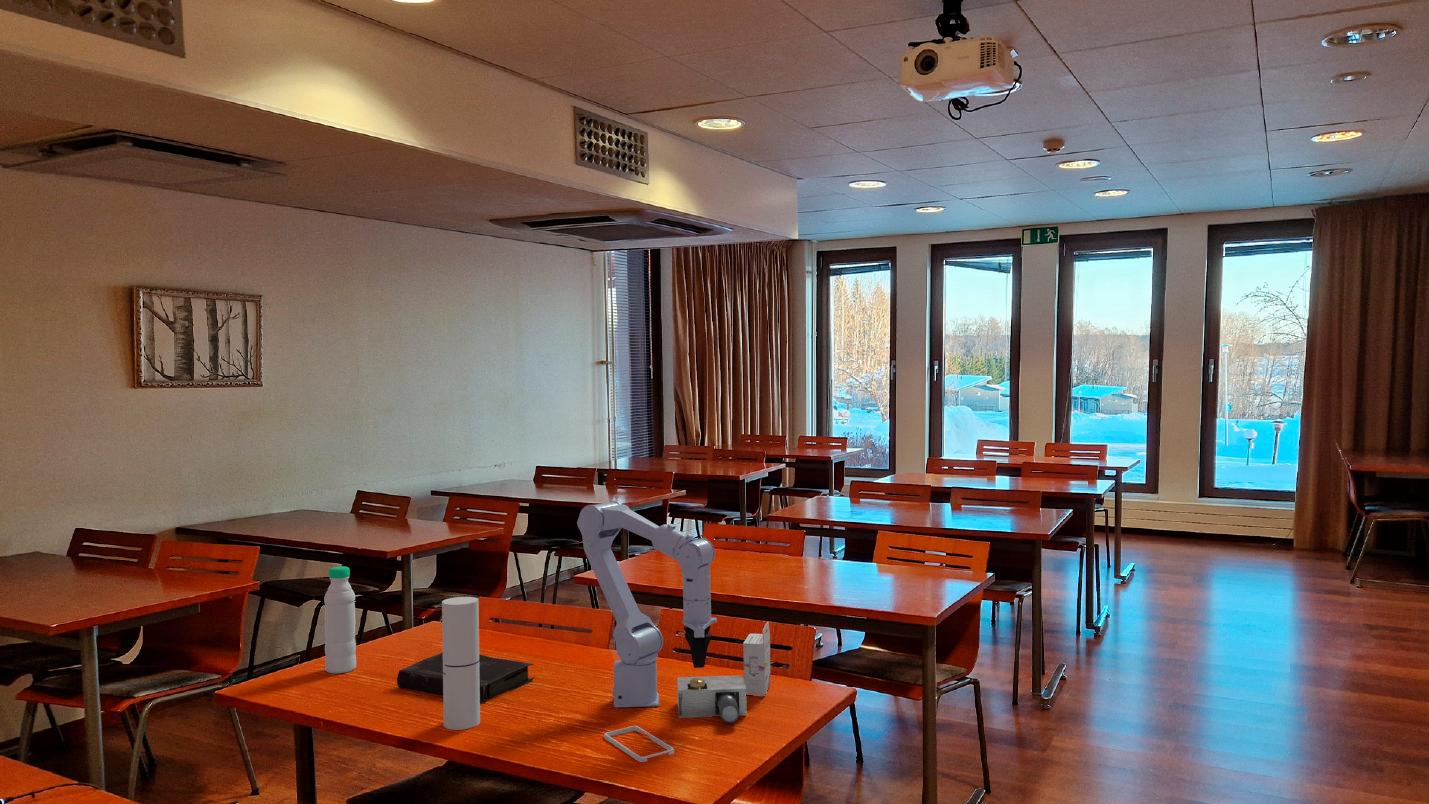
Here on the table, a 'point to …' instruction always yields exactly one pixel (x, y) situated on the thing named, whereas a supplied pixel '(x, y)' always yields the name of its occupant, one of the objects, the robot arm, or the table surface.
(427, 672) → the diary
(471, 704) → the cylindrical container
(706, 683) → the housing
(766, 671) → the ink cartridge box
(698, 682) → the plunger
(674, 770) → the table surface
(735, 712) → the cartridge
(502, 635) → the table surface
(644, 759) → the phone case
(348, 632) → the water bottle
